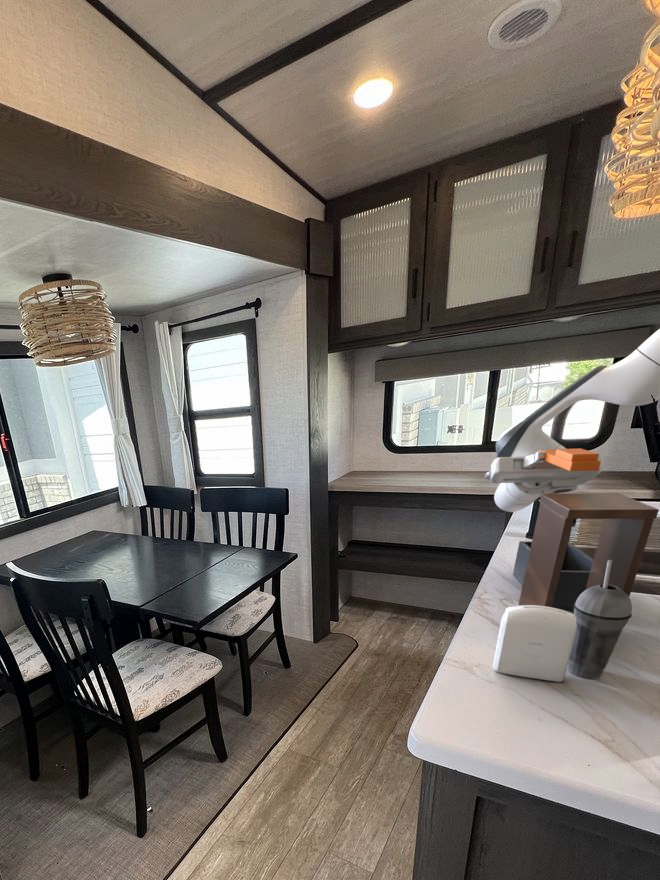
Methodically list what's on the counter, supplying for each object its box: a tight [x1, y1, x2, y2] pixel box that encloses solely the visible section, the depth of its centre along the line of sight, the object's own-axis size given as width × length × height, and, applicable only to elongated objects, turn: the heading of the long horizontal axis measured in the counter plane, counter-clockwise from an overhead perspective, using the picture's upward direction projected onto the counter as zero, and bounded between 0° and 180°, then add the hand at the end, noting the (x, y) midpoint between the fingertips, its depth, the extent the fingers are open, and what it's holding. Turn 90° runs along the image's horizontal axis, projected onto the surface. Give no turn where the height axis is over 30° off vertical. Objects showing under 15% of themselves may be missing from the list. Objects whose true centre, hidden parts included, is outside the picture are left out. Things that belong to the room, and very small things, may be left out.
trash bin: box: [512, 540, 594, 612], centre depth 106 cm, size 11×22×9 cm, turn 164°
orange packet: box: [539, 447, 601, 471], centre depth 91 cm, size 18×4×3 cm, turn 163°
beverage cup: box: [566, 560, 633, 680], centre depth 75 cm, size 7×7×20 cm
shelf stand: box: [517, 492, 660, 607], centre depth 85 cm, size 12×13×26 cm
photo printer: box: [492, 605, 577, 683], centre depth 77 cm, size 10×4×12 cm, turn 63°
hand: (558, 454), depth 95 cm, fingers closed on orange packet, 4 cm apart
